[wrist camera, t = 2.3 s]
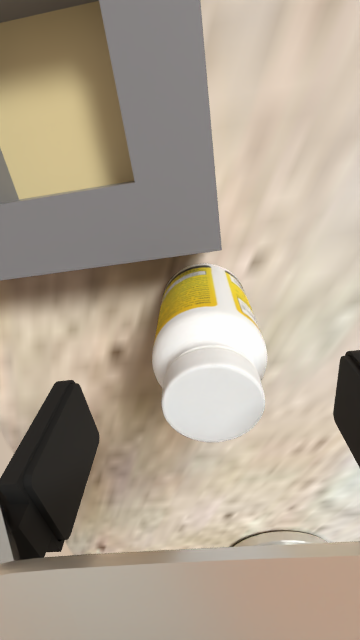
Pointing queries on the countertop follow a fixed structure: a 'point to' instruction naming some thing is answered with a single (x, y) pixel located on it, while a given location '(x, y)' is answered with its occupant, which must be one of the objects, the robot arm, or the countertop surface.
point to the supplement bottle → (209, 355)
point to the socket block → (103, 135)
